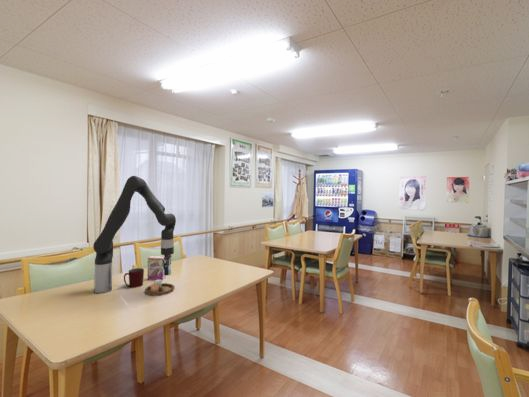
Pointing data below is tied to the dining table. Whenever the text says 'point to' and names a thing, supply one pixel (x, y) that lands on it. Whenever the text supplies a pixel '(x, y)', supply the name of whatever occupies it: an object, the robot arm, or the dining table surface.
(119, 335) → the dining table surface
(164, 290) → the groove tray
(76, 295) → the dining table surface
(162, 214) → the robot arm
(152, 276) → the candy bar box
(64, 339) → the dining table surface
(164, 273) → the bead blue
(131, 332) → the dining table surface
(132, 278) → the mug
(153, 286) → the bead terracotta
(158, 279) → the bead sage
